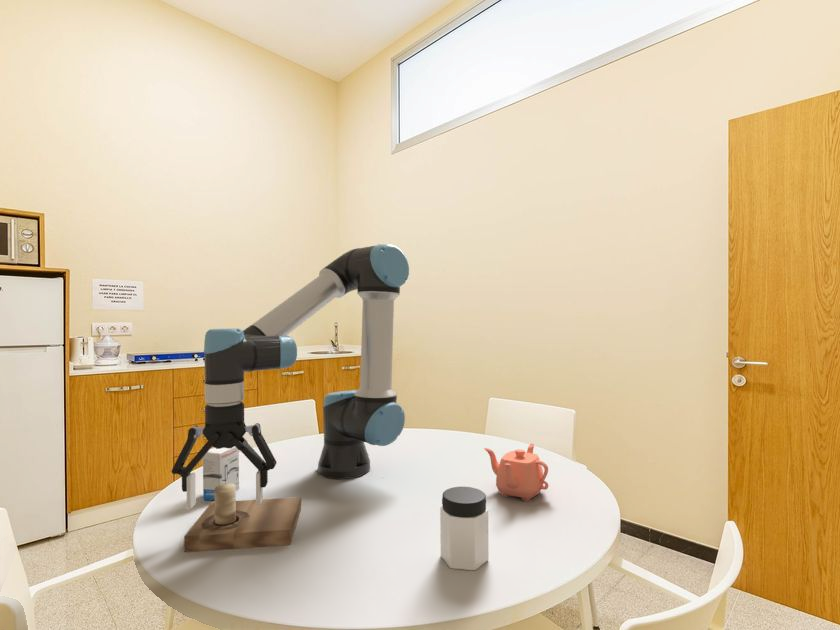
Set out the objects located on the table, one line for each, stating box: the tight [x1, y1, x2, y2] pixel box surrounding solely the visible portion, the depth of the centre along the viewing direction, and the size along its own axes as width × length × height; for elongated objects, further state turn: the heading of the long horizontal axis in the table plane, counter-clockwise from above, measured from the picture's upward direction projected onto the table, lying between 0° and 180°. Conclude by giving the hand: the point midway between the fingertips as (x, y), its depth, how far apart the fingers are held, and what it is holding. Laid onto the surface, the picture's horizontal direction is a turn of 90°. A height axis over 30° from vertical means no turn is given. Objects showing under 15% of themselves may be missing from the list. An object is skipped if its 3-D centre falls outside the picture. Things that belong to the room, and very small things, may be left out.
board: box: [183, 496, 302, 553], centre depth 97 cm, size 20×16×3 cm
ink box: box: [202, 446, 240, 501], centre depth 116 cm, size 9×5×12 cm, turn 168°
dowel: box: [214, 483, 237, 526], centre depth 94 cm, size 4×4×10 cm
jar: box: [439, 486, 490, 571], centre depth 85 cm, size 9×8×12 cm
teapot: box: [483, 443, 549, 502], centre depth 115 cm, size 14×14×11 cm
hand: (225, 504), depth 94 cm, fingers open, 13 cm apart
